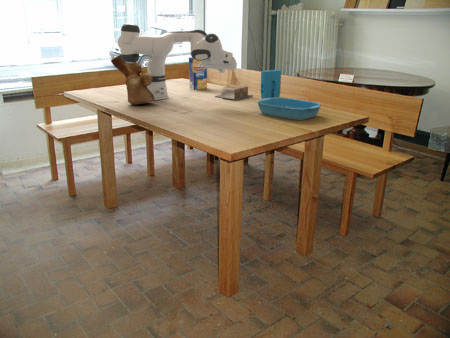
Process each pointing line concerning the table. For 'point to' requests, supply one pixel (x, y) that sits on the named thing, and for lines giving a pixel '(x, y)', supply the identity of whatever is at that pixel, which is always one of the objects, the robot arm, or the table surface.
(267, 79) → the block
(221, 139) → the table surface
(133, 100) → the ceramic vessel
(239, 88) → the walnut block
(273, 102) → the casserole dish
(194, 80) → the cracker box
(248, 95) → the felt mat
